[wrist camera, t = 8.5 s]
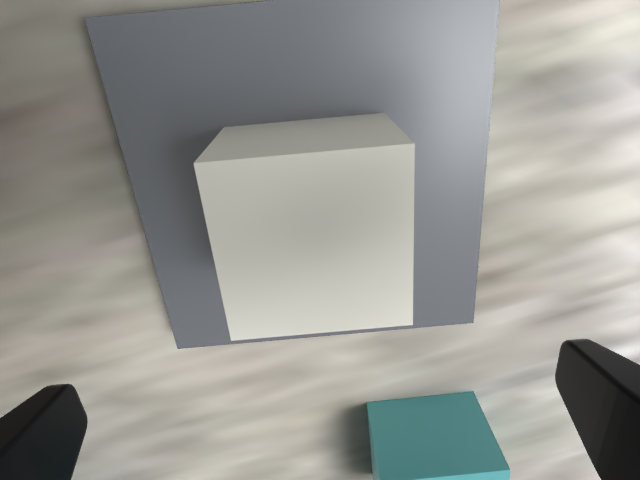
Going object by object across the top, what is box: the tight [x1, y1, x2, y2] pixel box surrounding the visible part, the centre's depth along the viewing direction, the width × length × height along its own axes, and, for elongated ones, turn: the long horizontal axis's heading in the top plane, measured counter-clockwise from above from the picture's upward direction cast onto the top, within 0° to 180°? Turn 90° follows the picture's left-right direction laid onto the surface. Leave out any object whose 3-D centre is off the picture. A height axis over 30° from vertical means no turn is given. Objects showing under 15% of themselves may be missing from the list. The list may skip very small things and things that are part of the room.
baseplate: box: [84, 0, 500, 349], centre depth 18 cm, size 14×14×2 cm
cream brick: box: [193, 113, 415, 341], centre depth 15 cm, size 6×6×5 cm
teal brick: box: [367, 391, 510, 480], centre depth 24 cm, size 6×6×5 cm
